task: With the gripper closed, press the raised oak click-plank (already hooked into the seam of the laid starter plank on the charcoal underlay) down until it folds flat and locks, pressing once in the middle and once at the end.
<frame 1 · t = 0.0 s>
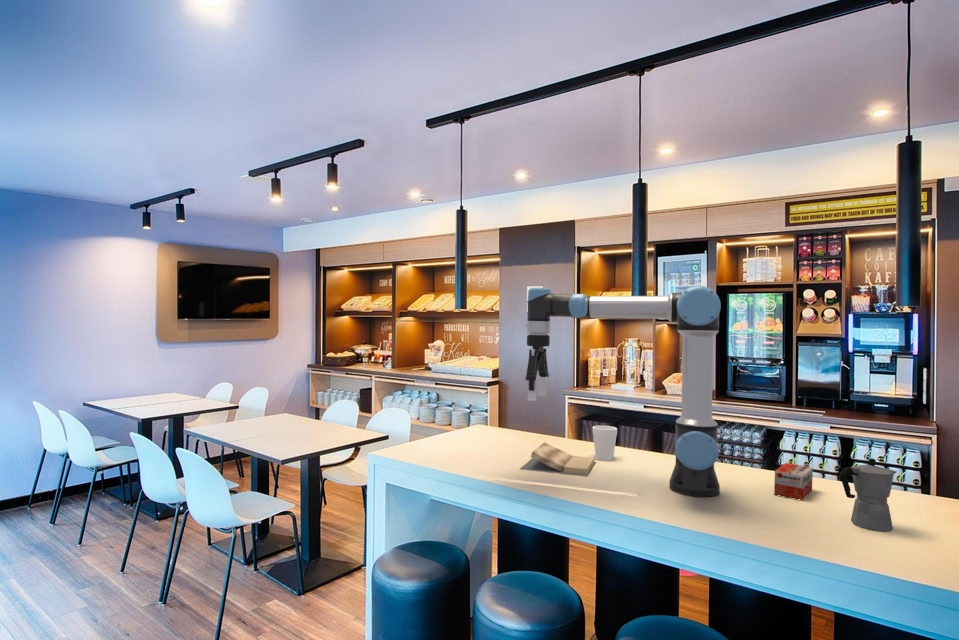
hand: (537, 398, 181), 28 cm above the counter, fingers open, 13 cm apart
coffeepot: (867, 526, 147), on the counter
plank: (552, 456, 202), point 4 cm above the counter, hinge at 19.9°
foam cup: (604, 461, 213), on the counter
medicine box: (793, 494, 176), on the counter
underlay: (559, 468, 201), on the counter
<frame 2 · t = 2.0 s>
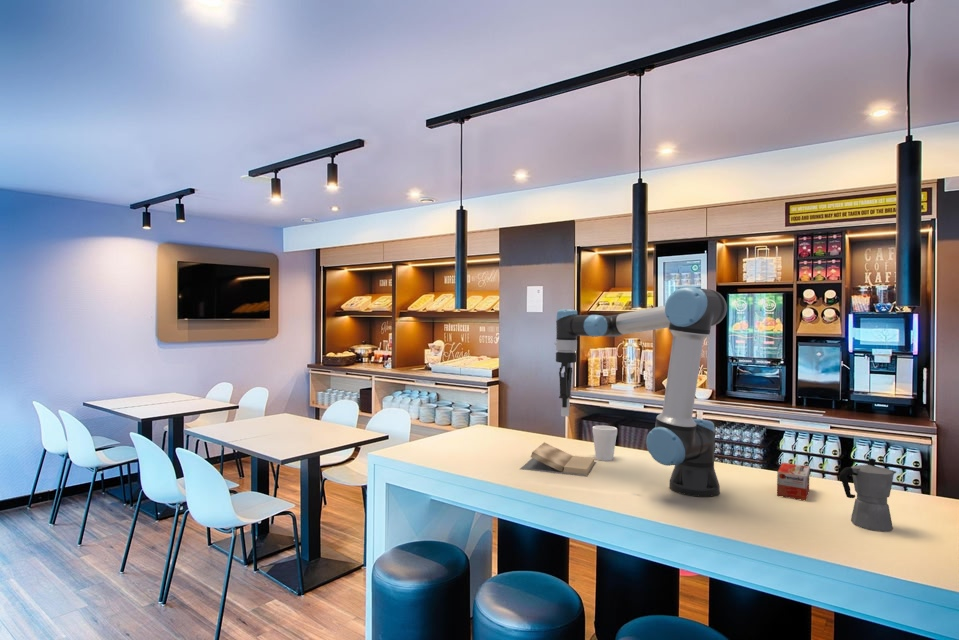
hand: (565, 415, 201), 19 cm above the counter, fingers closed
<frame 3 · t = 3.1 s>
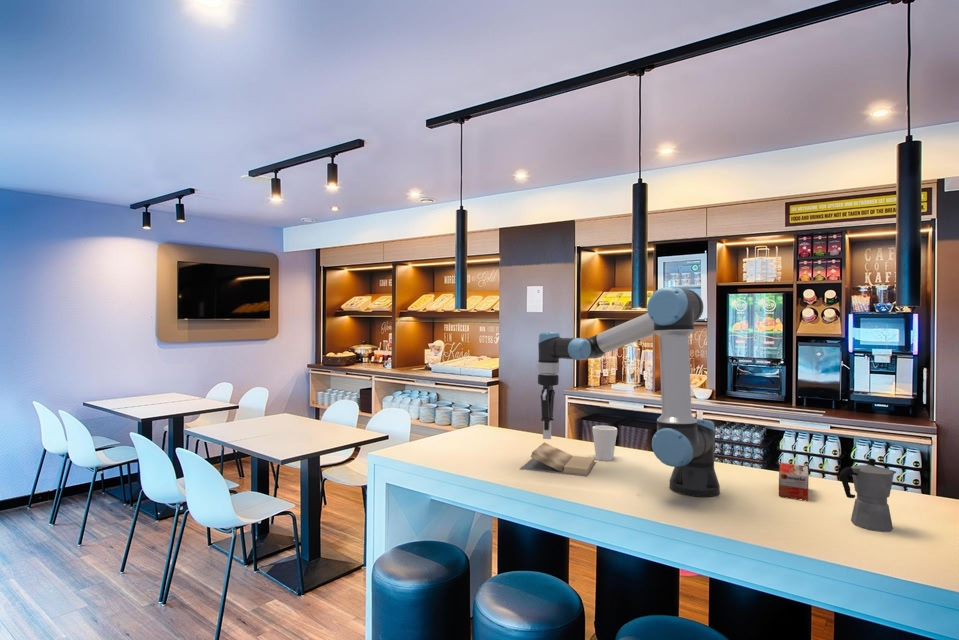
hand: (547, 438, 200), 11 cm above the counter, fingers closed
nothing on the counter moved.
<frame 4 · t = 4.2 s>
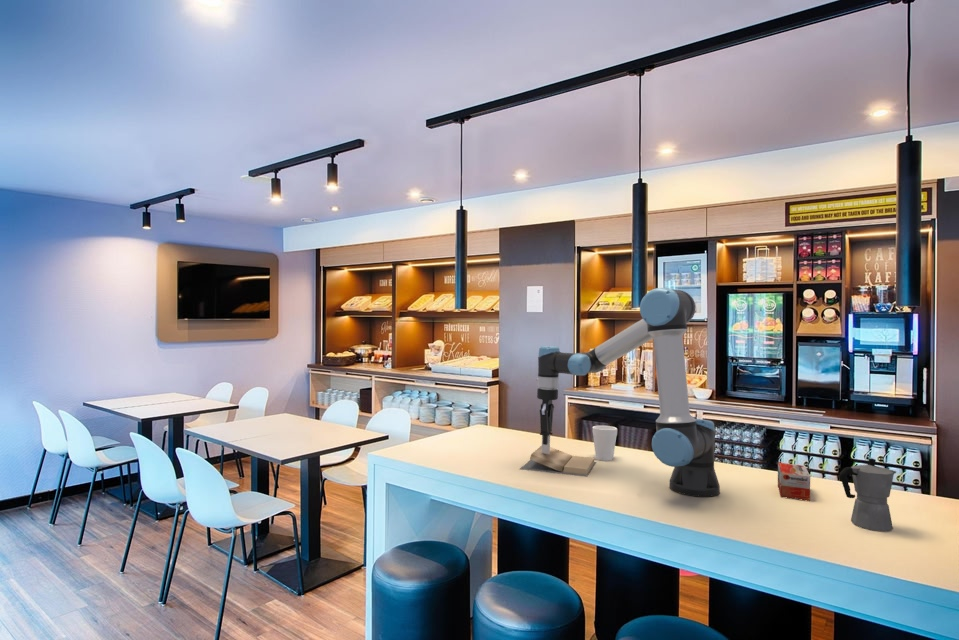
hand: (545, 452, 200), 6 cm above the counter, fingers closed
plank: (551, 457, 202), point 4 cm above the counter, hinge at 15.8°, touching gripper
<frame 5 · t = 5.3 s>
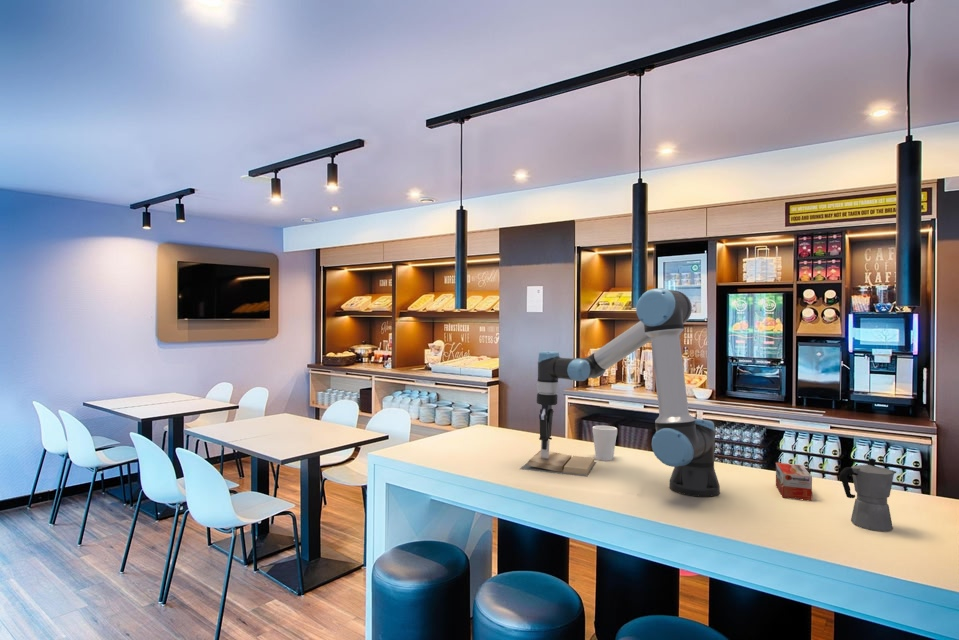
hand: (544, 457, 200), 4 cm above the counter, fingers closed
plank: (550, 460, 202), point 3 cm above the counter, hinge at 4.9°, touching gripper
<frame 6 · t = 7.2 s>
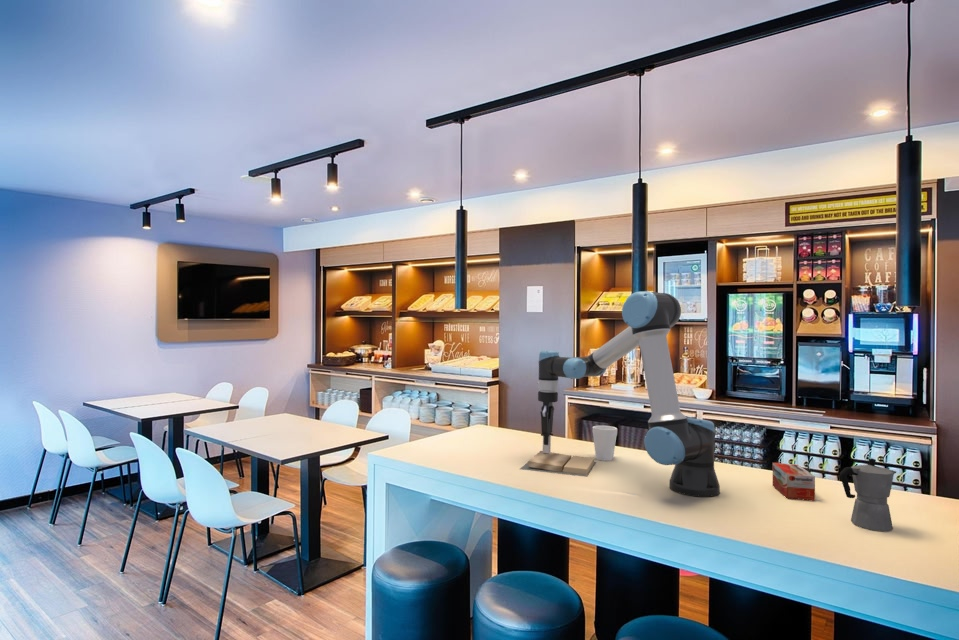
hand: (546, 452, 209), 4 cm above the counter, fingers closed
plank: (550, 460, 202), point 2 cm above the counter, hinge at 3.2°, touching gripper
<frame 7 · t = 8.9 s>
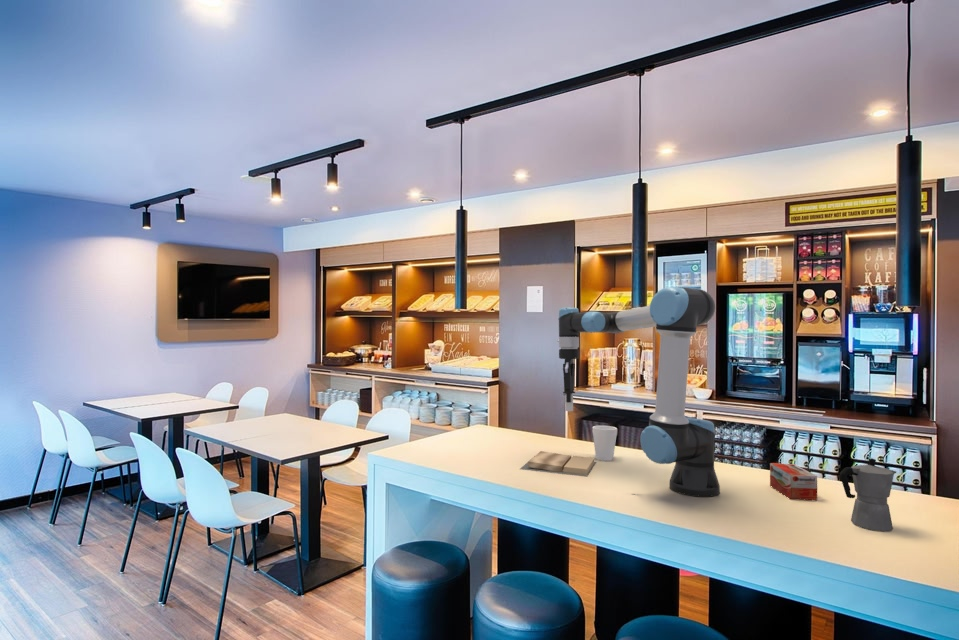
hand: (569, 410, 207), 20 cm above the counter, fingers closed
plank: (550, 461, 202), point 2 cm above the counter, hinge at 2.5°
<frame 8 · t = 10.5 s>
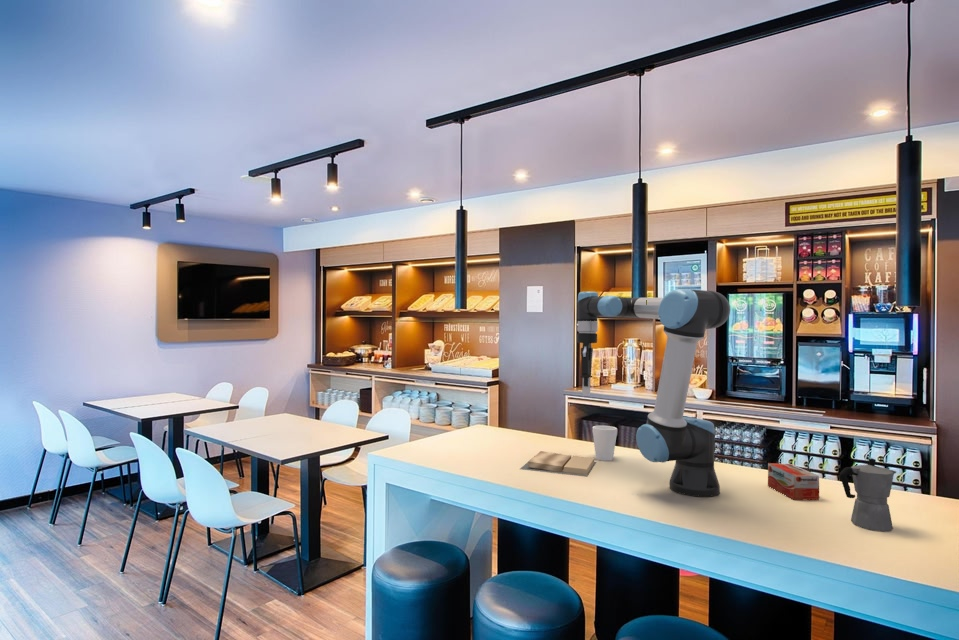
hand: (586, 394, 207), 26 cm above the counter, fingers closed
at the end: plank at +2° (first picture: +20°) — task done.
